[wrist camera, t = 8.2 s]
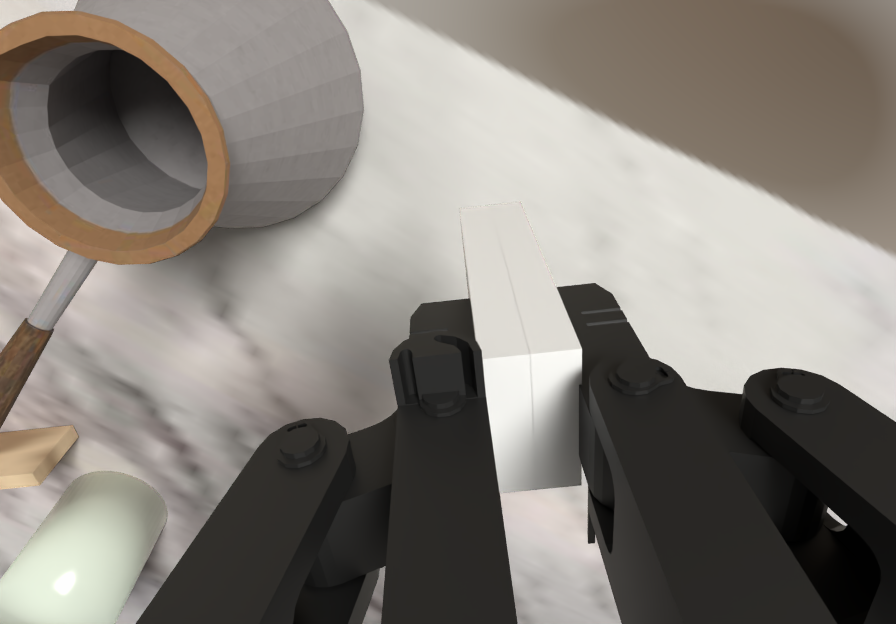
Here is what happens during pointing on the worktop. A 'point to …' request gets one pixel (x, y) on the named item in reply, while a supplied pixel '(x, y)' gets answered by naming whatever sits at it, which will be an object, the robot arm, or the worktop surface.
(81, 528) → the green jar
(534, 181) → the worktop surface
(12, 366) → the coffee pot
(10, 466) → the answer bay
